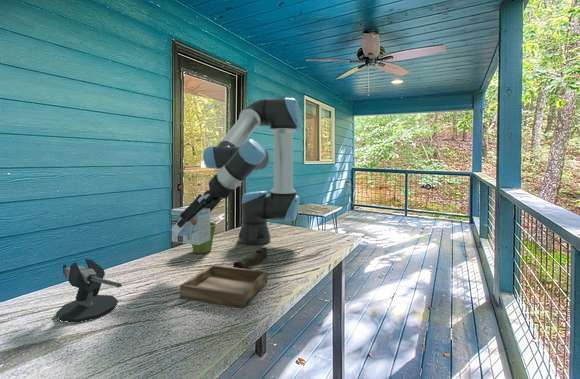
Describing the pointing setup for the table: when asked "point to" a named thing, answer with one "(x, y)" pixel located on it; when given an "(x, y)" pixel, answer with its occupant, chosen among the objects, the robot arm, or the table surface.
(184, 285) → the walnut tray
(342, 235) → the table surface
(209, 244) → the plant pot
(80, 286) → the gun turret
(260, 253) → the rusty artillery shell
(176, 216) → the light bulb box
